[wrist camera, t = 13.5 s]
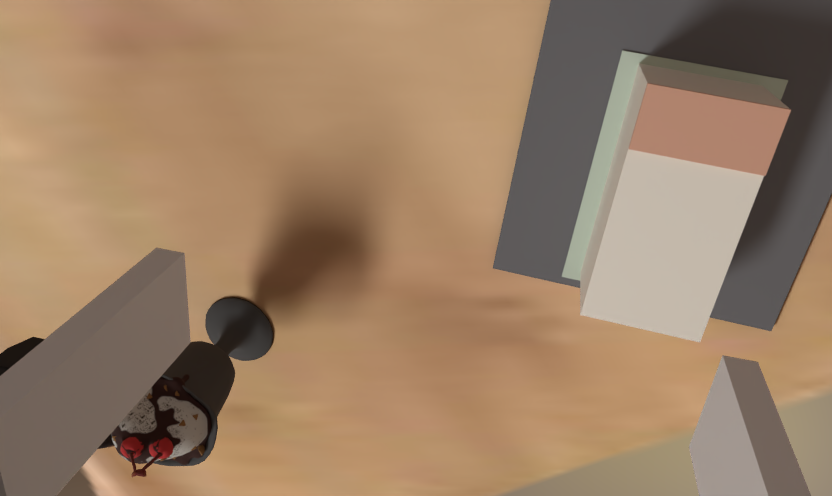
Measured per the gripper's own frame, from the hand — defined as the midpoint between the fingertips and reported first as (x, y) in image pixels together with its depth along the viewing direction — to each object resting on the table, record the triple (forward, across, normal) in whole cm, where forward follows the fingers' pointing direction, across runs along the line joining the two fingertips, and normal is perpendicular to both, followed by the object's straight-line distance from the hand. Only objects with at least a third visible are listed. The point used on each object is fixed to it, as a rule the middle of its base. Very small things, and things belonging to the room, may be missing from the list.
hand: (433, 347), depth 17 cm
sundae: (+23, -16, -18) cm, 33 cm away
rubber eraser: (+23, +9, -3) cm, 24 cm away
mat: (+23, +9, +1) cm, 25 cm away
